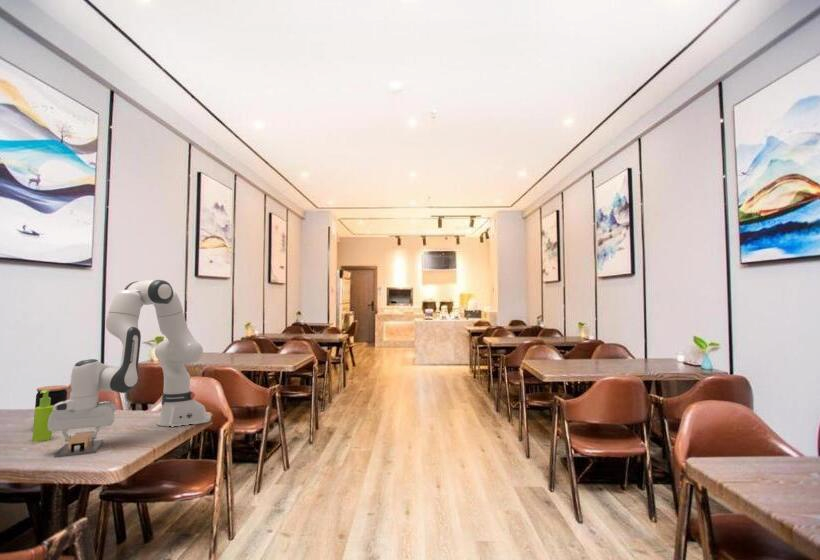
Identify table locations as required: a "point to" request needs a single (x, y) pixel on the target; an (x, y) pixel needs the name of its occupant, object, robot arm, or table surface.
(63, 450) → the dock plate
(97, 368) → the robot arm
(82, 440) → the lock block
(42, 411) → the soap dispenser
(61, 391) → the coffee jar
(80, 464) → the table surface
